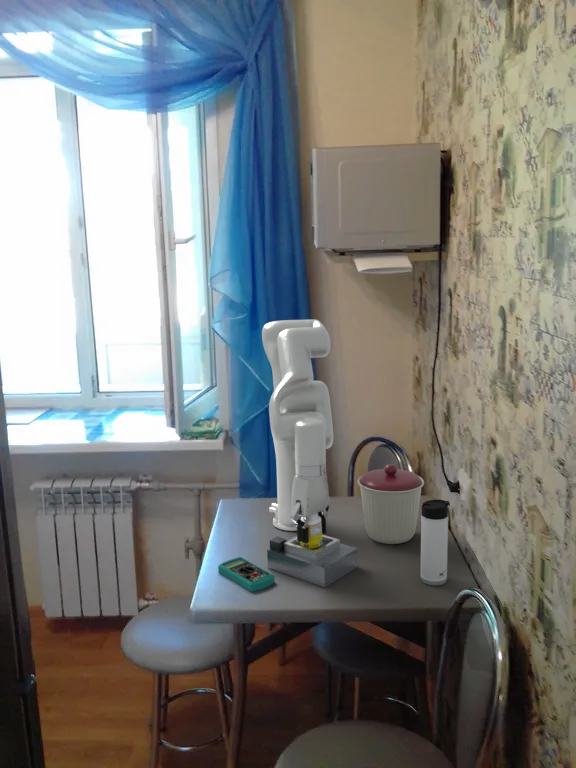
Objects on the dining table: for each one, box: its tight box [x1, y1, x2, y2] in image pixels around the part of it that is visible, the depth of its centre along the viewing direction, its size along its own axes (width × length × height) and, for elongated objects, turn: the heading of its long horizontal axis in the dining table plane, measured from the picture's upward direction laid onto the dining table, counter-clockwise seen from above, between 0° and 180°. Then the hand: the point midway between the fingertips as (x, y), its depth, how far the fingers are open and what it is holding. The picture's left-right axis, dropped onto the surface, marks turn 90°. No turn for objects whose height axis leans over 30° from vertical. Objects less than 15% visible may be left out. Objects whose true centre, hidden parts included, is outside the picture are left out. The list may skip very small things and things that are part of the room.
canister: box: [357, 463, 425, 545], centre depth 196 cm, size 18×18×21 cm
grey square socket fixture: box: [266, 533, 358, 589], centre depth 179 cm, size 18×14×7 cm
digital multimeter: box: [217, 556, 276, 593], centre depth 175 cm, size 7×15×3 cm, turn 39°
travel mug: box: [420, 499, 451, 586], centre depth 170 cm, size 6×7×20 cm
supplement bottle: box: [300, 512, 323, 551], centre depth 178 cm, size 6×6×10 cm
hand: (311, 536), depth 179 cm, fingers open, 6 cm apart
